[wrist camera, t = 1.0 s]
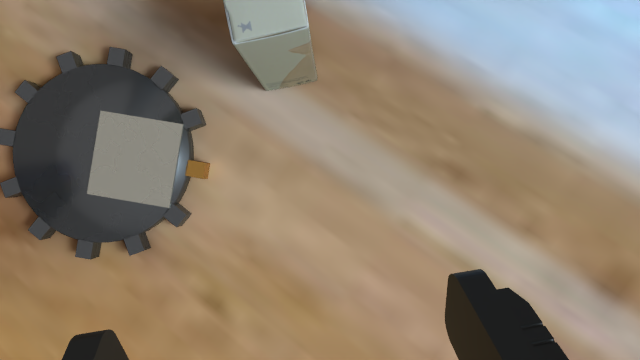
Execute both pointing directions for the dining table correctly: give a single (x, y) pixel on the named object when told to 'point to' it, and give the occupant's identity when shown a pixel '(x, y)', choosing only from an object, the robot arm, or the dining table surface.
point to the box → (273, 40)
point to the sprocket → (103, 153)
